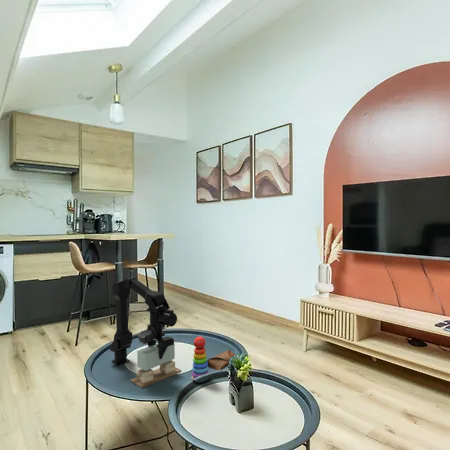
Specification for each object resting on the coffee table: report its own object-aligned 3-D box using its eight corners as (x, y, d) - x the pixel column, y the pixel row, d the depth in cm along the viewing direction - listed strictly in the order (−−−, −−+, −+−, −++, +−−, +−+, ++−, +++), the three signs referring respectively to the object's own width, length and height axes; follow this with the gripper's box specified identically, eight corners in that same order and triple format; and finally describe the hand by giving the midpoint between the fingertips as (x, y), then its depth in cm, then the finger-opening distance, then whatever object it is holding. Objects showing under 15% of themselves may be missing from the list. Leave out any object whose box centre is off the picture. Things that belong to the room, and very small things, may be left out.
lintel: (137, 366, 143) (137, 350, 143) (166, 355, 156) (165, 340, 156) (146, 370, 140) (146, 354, 140) (174, 358, 152) (174, 343, 152)
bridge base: (130, 381, 143) (130, 370, 143) (169, 365, 158) (169, 356, 158) (141, 388, 137) (141, 377, 137) (181, 371, 152) (181, 361, 152)
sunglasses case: (219, 371, 152) (213, 356, 154) (209, 375, 156) (204, 361, 158) (241, 358, 166) (236, 345, 169) (232, 362, 170) (226, 349, 172)
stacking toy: (210, 376, 148) (210, 334, 148) (208, 384, 140) (208, 340, 140) (193, 375, 148) (193, 333, 148) (189, 383, 141) (189, 340, 140)
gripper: (129, 322, 148) (129, 356, 148) (153, 331, 135) (153, 369, 135) (150, 316, 156) (150, 349, 156) (174, 325, 143) (175, 360, 144)
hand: (156, 357), depth 148 cm, fingers closed on lintel, 6 cm apart
